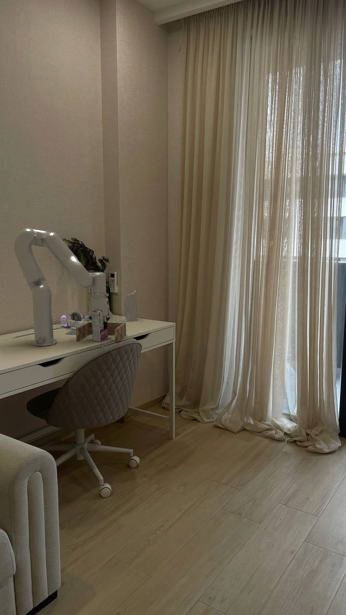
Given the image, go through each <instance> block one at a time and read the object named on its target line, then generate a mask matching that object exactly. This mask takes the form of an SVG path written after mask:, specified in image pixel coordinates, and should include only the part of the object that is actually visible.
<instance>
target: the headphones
mask: <svg viewBox="0 0 346 615" xmlns="http://www.w3.org/2000/svg"><path fill="white" fill-rule="evenodd" d="M83 318H84V320H83ZM87 322H92V321H91V320H90V319H89V318H88V317H87V316H86V314H85V313H84V312H83V311H74V312H72V313H65V314H63V315H62V316H60V323H61V324H62V326H63V327H64V328H69V327H73V328H74V329H76V328H78V327H79V326H81V325H83V324H85V323H87Z"/></svg>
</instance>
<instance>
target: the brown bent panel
mask: <svg viewBox="0 0 346 615" xmlns="http://www.w3.org/2000/svg"><path fill="white" fill-rule="evenodd" d="M107 323H108V336H114V343H118V342H120V340H122V339H123V338H125V337H126V336H127V323H126V322H113V321H111V322H108V321H107ZM75 330H76V335H75V337H76V338H75V340H76V341H75V342H80V341H82V340H83V339H85V338H86V337H88V336H89V335H93V330H92V322H87V323H85V324H83V325H81V326H79V327H78V328H75Z"/></svg>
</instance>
